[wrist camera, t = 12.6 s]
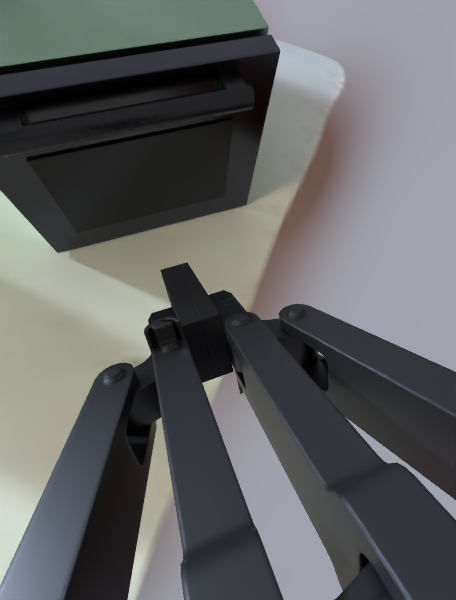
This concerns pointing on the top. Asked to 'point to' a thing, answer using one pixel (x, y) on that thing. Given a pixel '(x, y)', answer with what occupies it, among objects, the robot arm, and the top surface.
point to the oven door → (134, 138)
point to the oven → (115, 29)
